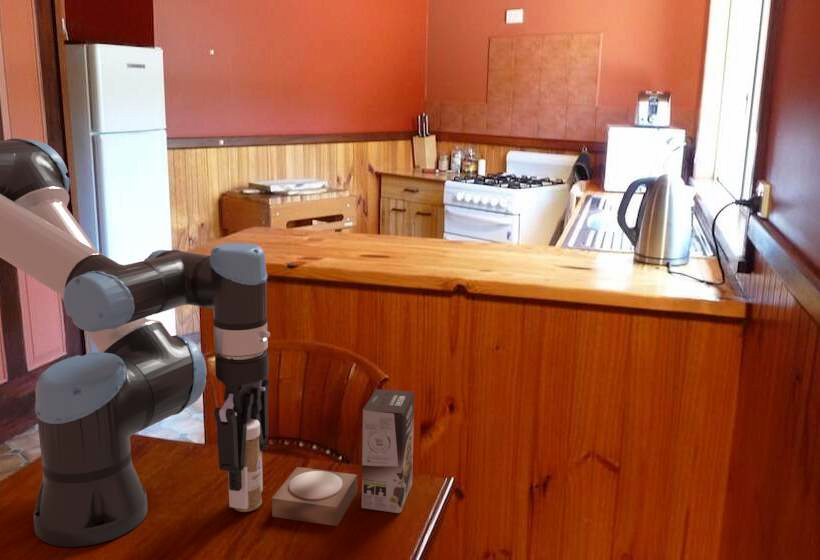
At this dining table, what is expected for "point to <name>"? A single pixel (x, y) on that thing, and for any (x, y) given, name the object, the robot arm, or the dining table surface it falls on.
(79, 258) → the robot arm
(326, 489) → the base
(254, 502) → the sprinkles bottle
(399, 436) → the coffee box
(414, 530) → the dining table surface
